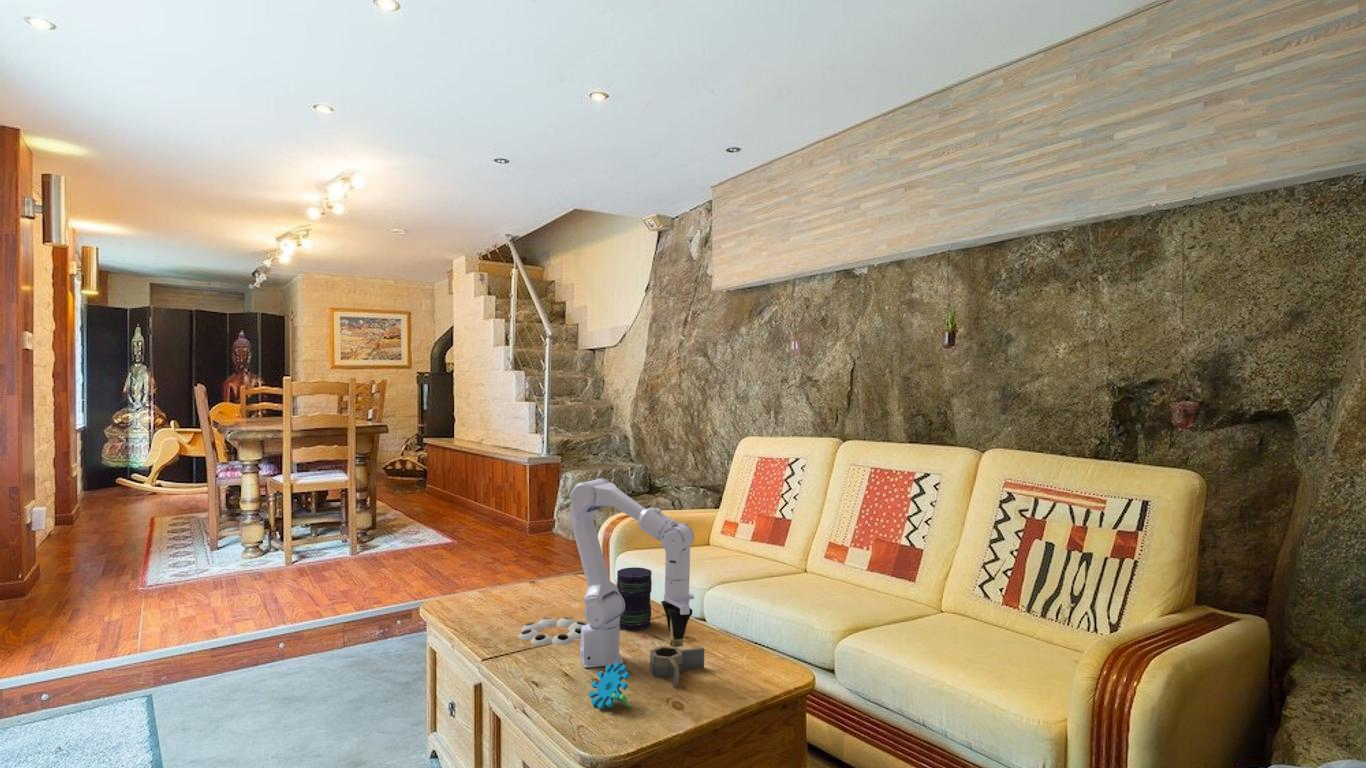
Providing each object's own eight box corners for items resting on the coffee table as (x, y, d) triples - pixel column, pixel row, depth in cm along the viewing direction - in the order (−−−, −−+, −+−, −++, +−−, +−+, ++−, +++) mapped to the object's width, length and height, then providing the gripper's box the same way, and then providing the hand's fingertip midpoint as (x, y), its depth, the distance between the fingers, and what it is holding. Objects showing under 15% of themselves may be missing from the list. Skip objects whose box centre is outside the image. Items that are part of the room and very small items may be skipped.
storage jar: (618, 618, 197) (619, 566, 197) (652, 619, 197) (653, 567, 197) (613, 631, 188) (614, 576, 188) (649, 632, 187) (650, 577, 187)
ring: (600, 640, 182) (600, 632, 182) (527, 652, 173) (527, 644, 173) (578, 617, 199) (578, 610, 199) (510, 627, 191) (510, 619, 191)
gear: (580, 689, 148) (612, 652, 151) (597, 703, 151) (628, 666, 153) (601, 718, 139) (635, 678, 141) (618, 732, 141) (651, 692, 144)
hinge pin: (670, 648, 157) (670, 613, 157) (666, 642, 161) (666, 608, 161) (687, 646, 158) (687, 612, 158) (682, 641, 162) (683, 607, 162)
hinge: (661, 689, 152) (661, 669, 152) (647, 666, 165) (648, 647, 165) (715, 683, 156) (716, 663, 156) (698, 660, 168) (698, 642, 168)
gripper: (703, 585, 154) (701, 645, 154) (685, 567, 168) (683, 623, 168) (672, 587, 152) (671, 648, 152) (657, 569, 166) (656, 625, 166)
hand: (676, 635), depth 160 cm, fingers closed on hinge pin, 4 cm apart
